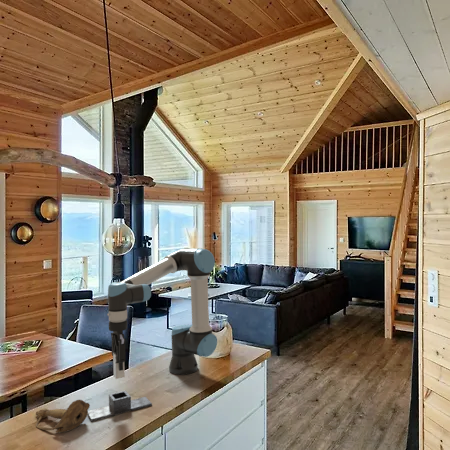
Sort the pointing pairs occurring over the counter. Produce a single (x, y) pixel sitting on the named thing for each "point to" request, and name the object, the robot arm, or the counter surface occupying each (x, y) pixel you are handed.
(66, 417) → the sword hilt
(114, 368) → the beige rectangular block
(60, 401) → the counter surface
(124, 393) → the square socket bracket
